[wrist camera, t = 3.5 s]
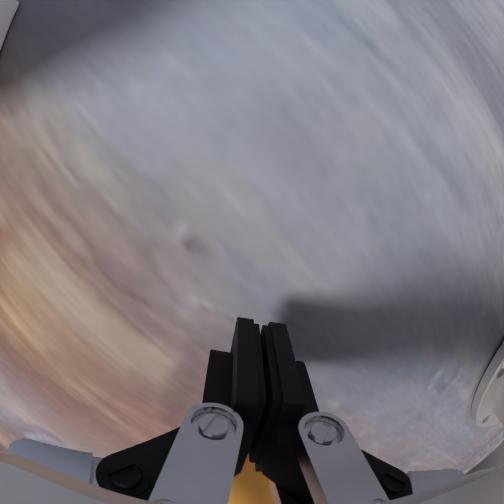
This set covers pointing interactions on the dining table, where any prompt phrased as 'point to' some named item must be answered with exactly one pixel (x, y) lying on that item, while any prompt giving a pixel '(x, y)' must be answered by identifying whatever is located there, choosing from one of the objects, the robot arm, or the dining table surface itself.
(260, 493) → the ball
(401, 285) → the dining table surface
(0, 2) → the jar
